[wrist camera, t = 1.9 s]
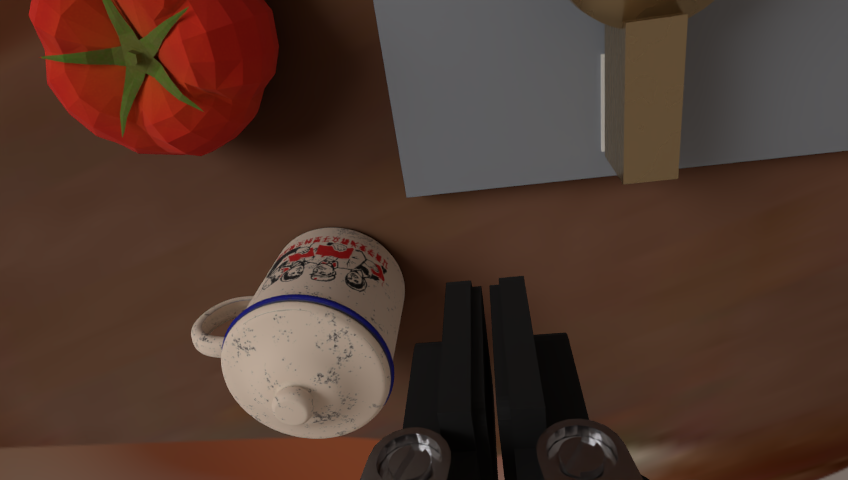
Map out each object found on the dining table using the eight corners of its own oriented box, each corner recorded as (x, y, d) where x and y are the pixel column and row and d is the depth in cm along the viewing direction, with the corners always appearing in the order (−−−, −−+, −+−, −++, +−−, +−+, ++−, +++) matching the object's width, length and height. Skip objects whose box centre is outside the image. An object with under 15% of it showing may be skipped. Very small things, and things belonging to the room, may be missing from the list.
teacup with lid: (407, 222, 35) (381, 338, 24) (411, 342, 39) (390, 485, 29) (217, 218, 36) (113, 329, 25) (240, 336, 40) (159, 473, 29)
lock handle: (534, -171, 23) (546, -194, 20) (739, -209, 22) (793, -240, 19) (549, 162, 30) (561, 192, 26) (709, 144, 29) (745, 173, 25)
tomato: (123, 129, 33) (37, 174, 27) (76, -85, 28) (-44, -95, 22) (302, 138, 33) (260, 187, 26) (287, -79, 28) (229, -87, 21)
